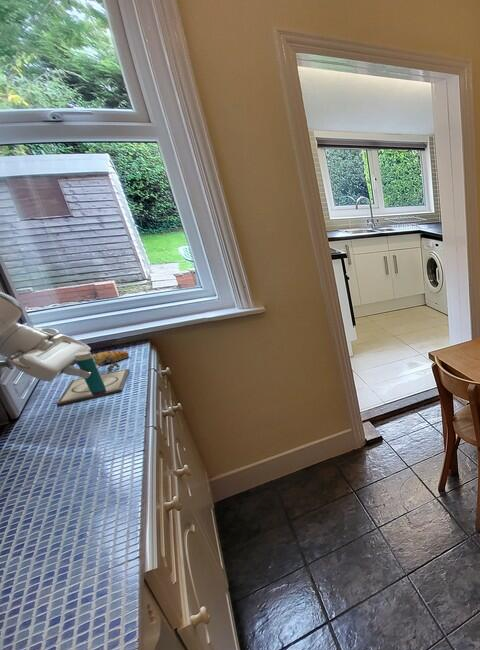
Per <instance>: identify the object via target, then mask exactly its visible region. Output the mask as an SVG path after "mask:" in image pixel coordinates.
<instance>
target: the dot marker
mask: <svg viewBox="0 0 480 650" xmlns="http://www.w3.org/2000/svg"><path fill="white" fill-rule="evenodd" d="M92 355H93V354H92V352H91V351H90V352H89V351H85V352H79V353H76V354H74V357H75V359H76V361H77V363H78V365H77V366H78V367H79V368H78V369H82V370H84V369H86V370H88V371H91V372H92V374H91V375H90V377H88V378H87V379H85V378H84V379H85V381H86V383H87V386H88V388H89V390H90V392H91V393H92V395H101V394H104V393H106V392H107V391H106V388H105V385H104V383H103V381H102V378H101V376H100V375H101V374H100V372H99V371H100V370H99V369H97V367H96V364H95V361H94V359H93V356H92Z"/></svg>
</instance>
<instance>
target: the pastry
mask: <svg viewBox="0 0 480 650" xmlns="http://www.w3.org/2000/svg"><path fill="white" fill-rule="evenodd" d="M91 355H92V357H93V360H94V362H95V364H96V365H98V364H99V363H101V362H102V361H105V359H106V357H111V356H112V357H113V359H112V360H113V361H114V362H115V363H116V361H117V362H120V361H123V360H125V359H127V358H129V356H130V355H129V353H128V351H125V350H106V351H101V352H98V353H93V354H91ZM122 359H123V360H122ZM119 360H120V361H119ZM108 362H110V361H108ZM108 362H106V363H105V364H109V363H108Z"/></svg>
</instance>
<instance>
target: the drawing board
mask: <svg viewBox="0 0 480 650" xmlns="http://www.w3.org/2000/svg"><path fill="white" fill-rule="evenodd" d="M129 373H130V368H125V369H121V370H115V371H111V372H105V373H102V374H100V376H101V378H102V381H103V383H104V385H105V388H106V391H107V392H106V393H104V394H101V395H92V393H91V392H90V390H89V388H88V386H87V383H86V381H85V379H84V378H82V377H80V378H78V379H73V380H71V381H70V383H69V384H68V386H67V387H66V389H65V390H64V391H63V393H62V395H61V396H60V398H59V400H58V401H57V403H56V406H57V407H61V406H65V405H69V404H73V403H79V402H82V401H88V400H92V399H96V398H100V397H105V396H110V395H113V394H119V393H121V392H123V390H124V387H125V384H126V382H127V379H128V376H129Z"/></svg>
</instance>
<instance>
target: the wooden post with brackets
mask: <svg viewBox="0 0 480 650" xmlns="http://www.w3.org/2000/svg"><path fill="white" fill-rule="evenodd" d="M112 359H113V357H112V356H111V357H106V359H105V361H102V362H101V363H99V364H98V366H99V367H102V366H103V365H105V364H112V365H109V366H108V367H107V368H106V369H107V370H109V371H111V370H112V369H114V368H115V367H116V368H120V364H118V363H117V362H116V361H115V362H114V361H113V360H112ZM108 361H110V362H108ZM106 362H108V363H106Z"/></svg>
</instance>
